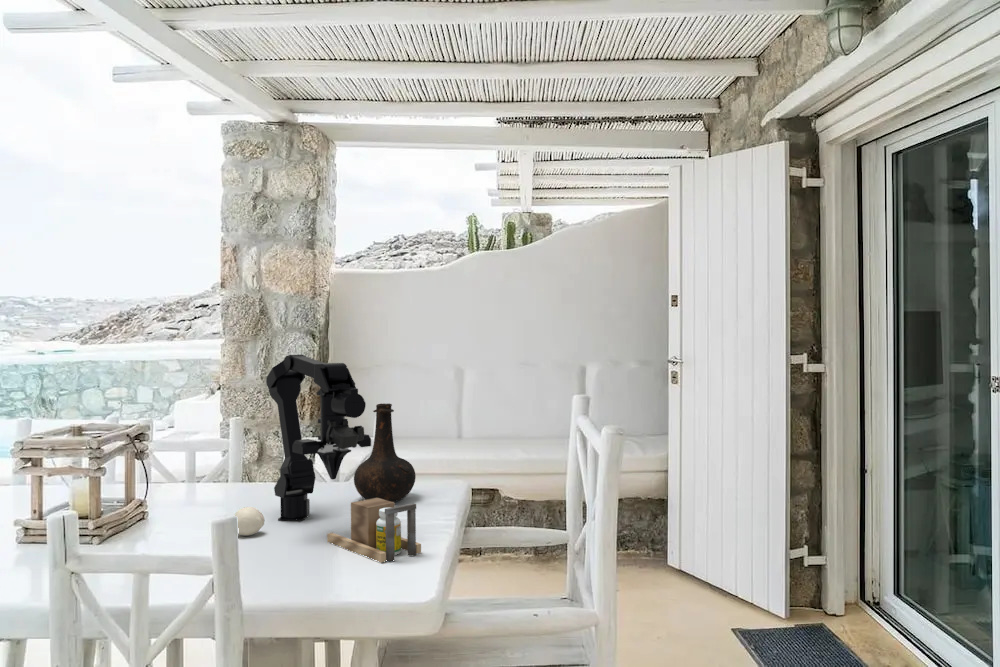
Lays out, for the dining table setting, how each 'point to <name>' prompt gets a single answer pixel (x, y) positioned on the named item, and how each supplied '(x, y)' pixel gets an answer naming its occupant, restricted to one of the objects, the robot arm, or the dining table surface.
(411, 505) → the channel
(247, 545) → the dining table surface
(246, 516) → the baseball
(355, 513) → the block
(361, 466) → the glass bottle
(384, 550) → the supplement bottle
